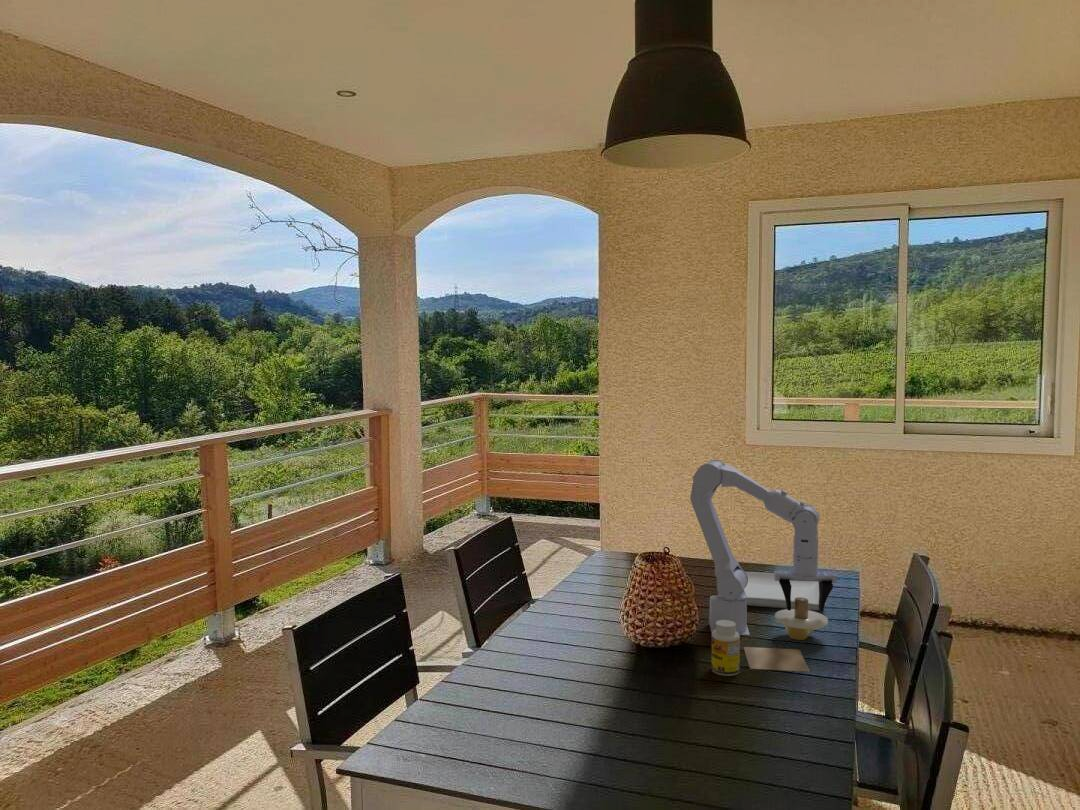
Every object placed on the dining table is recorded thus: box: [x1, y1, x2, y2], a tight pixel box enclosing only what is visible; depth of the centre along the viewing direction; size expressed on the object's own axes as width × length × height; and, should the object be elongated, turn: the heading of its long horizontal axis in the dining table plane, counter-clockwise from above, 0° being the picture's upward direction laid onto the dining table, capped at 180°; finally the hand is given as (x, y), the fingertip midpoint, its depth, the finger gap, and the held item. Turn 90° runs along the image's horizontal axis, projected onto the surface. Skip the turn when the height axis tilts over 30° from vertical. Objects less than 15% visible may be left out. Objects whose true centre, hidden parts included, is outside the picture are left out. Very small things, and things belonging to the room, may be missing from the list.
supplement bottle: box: [710, 620, 741, 677], centre depth 171 cm, size 6×6×11 cm
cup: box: [784, 625, 816, 641], centre depth 191 cm, size 12×12×5 cm
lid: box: [774, 597, 829, 630], centre depth 190 cm, size 12×12×5 cm
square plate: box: [744, 571, 827, 611], centre depth 226 cm, size 27×27×4 cm
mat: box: [743, 646, 811, 673], centre depth 178 cm, size 13×13×1 cm
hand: (804, 609), depth 190 cm, fingers open, 7 cm apart
